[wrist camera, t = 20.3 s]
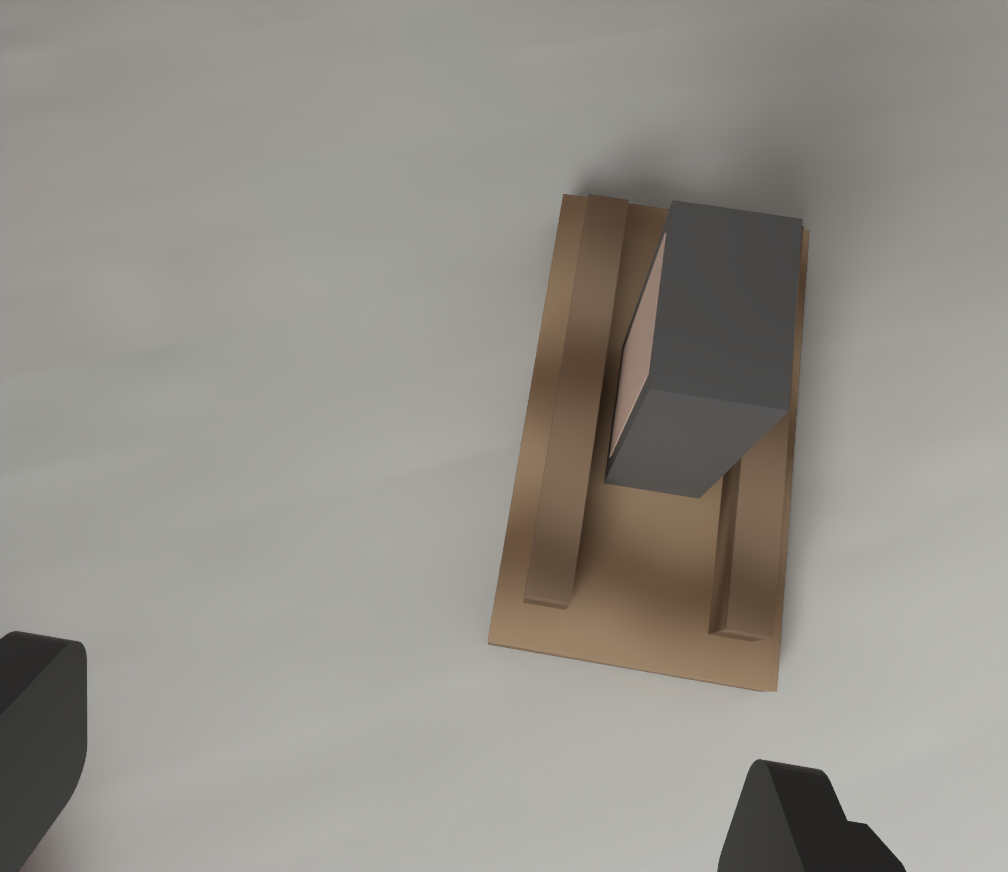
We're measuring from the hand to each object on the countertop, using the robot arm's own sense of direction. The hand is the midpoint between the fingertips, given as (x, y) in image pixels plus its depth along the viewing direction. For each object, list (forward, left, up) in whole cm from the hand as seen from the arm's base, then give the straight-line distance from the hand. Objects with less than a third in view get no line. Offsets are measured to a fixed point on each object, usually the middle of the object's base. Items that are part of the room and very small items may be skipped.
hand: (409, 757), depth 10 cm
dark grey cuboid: (-5, +12, -19) cm, 23 cm away
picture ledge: (-4, +12, -21) cm, 25 cm away
